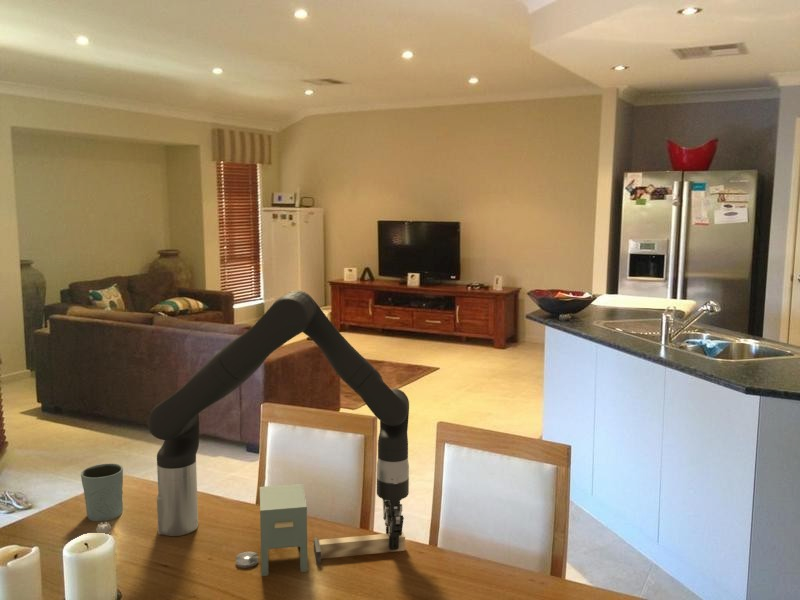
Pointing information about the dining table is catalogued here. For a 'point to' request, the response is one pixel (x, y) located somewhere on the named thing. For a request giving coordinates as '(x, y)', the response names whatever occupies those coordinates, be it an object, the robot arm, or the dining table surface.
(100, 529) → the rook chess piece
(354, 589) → the dining table surface
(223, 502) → the dining table surface
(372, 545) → the beige bar
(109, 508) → the grey green cup
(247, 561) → the steel token
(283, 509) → the cabinet
